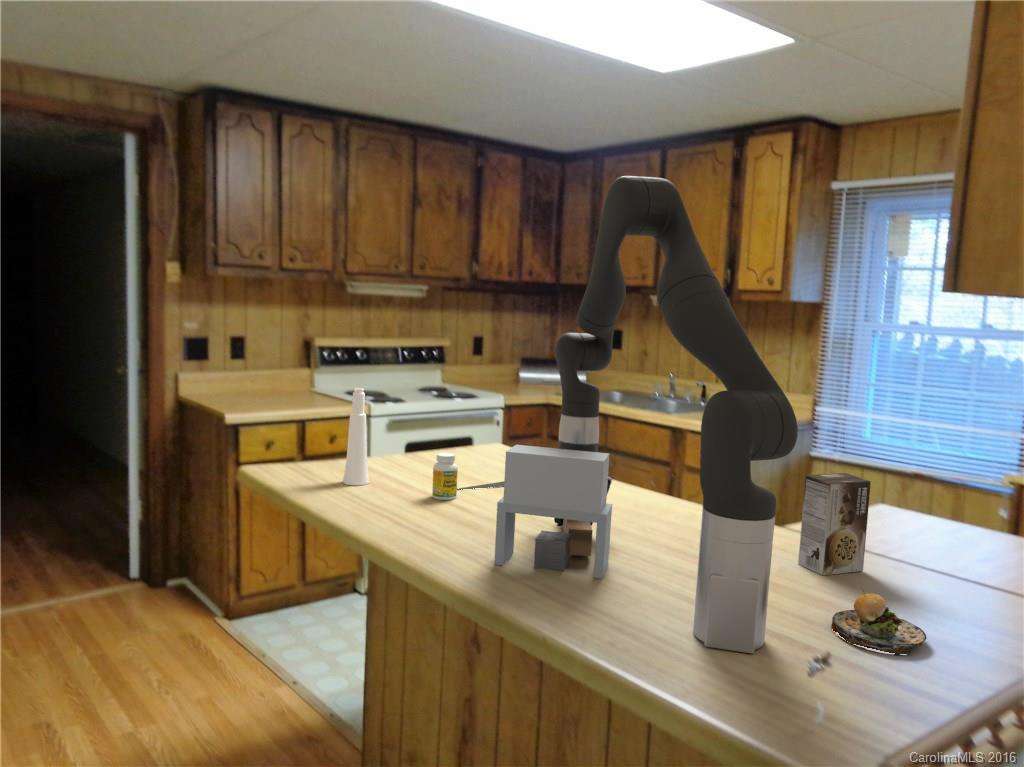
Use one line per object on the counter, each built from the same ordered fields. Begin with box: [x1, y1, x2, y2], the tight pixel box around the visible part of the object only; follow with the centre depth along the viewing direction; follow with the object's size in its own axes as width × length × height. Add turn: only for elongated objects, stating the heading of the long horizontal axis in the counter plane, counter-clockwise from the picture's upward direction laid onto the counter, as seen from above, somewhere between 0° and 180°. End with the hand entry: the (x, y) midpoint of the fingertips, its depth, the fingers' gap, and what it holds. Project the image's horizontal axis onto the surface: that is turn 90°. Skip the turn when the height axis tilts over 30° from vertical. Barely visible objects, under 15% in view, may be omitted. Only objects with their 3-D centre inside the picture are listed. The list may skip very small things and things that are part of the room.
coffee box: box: [797, 472, 872, 576], centre depth 134 cm, size 9×6×16 cm
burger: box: [830, 584, 927, 655], centre depth 106 cm, size 12×12×8 cm
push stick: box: [561, 519, 593, 557], centre depth 143 cm, size 24×4×4 cm, turn 179°
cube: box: [533, 530, 571, 572], centre depth 129 cm, size 5×5×5 cm
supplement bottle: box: [432, 452, 458, 501], centre depth 169 cm, size 5×5×10 cm
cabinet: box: [494, 444, 613, 580], centre depth 128 cm, size 7×18×19 cm, turn 76°
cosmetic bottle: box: [342, 387, 370, 486], centre depth 178 cm, size 6×6×22 cm
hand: (573, 526), depth 148 cm, fingers closed on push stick, 4 cm apart
